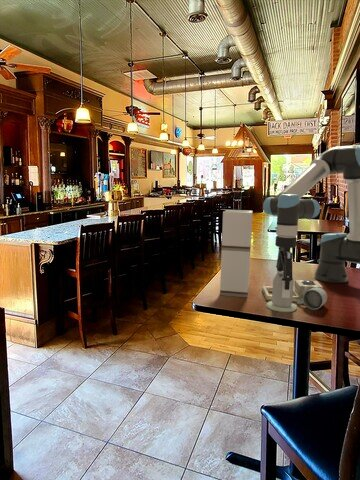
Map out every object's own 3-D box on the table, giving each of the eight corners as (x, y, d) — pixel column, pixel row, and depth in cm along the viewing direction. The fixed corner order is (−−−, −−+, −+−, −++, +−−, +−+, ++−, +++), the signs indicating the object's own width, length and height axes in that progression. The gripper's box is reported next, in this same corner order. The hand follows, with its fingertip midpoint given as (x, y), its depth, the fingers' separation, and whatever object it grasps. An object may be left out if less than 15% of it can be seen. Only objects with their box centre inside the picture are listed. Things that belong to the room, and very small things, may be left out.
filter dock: (314, 292, 158) (315, 279, 158) (323, 303, 145) (324, 288, 144) (262, 290, 160) (262, 277, 160) (266, 300, 147) (267, 285, 146)
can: (276, 300, 145) (278, 271, 143) (295, 304, 140) (297, 274, 138) (268, 305, 139) (270, 274, 137) (287, 309, 134) (289, 278, 132)
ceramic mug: (327, 305, 142) (328, 286, 141) (322, 311, 136) (323, 291, 134) (300, 300, 148) (301, 282, 147) (293, 306, 142) (294, 287, 140)
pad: (293, 303, 145) (293, 301, 144) (299, 312, 134) (299, 310, 134) (265, 301, 146) (265, 299, 145) (269, 311, 135) (269, 309, 135)
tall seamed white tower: (248, 290, 161) (252, 210, 155) (247, 297, 151) (251, 212, 145) (222, 287, 163) (225, 209, 158) (219, 295, 153) (223, 211, 147)
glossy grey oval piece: (311, 291, 154) (312, 280, 153) (313, 294, 150) (314, 282, 149) (301, 291, 154) (302, 279, 153) (303, 294, 150) (304, 282, 149)
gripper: (271, 231, 147) (267, 283, 151) (281, 241, 124) (277, 302, 127) (290, 232, 147) (286, 284, 150) (304, 241, 123) (299, 303, 127)
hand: (282, 292), depth 139 cm, fingers open, 12 cm apart
